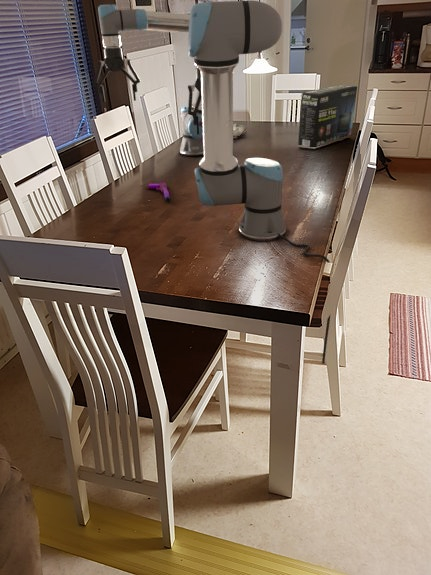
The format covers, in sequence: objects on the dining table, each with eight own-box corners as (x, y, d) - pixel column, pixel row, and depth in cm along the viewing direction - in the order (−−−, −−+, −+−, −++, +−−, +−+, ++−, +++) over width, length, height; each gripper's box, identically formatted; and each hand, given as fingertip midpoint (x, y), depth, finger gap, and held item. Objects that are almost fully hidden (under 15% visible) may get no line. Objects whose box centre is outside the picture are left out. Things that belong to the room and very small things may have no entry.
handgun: (147, 187, 192) (147, 183, 191) (166, 185, 193) (165, 180, 192) (151, 204, 175) (150, 199, 174) (171, 201, 176) (170, 197, 175)
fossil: (237, 133, 254) (219, 116, 257) (227, 149, 260) (209, 132, 263) (253, 132, 267) (235, 116, 271) (243, 148, 274) (226, 131, 277)
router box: (314, 151, 231) (318, 94, 217) (296, 148, 237) (299, 92, 224) (352, 138, 251) (358, 85, 238) (335, 135, 258) (340, 83, 245)
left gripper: (142, 45, 197) (148, 98, 208) (84, 48, 196) (92, 101, 207) (141, 46, 191) (147, 100, 202) (81, 49, 190) (90, 103, 201)
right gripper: (232, 64, 166) (233, 129, 178) (177, 67, 165) (181, 132, 177) (235, 66, 160) (236, 133, 172) (177, 69, 159) (182, 136, 171)
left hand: (119, 101), depth 204 cm, fingers open, 13 cm apart
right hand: (208, 133), depth 174 cm, fingers closed on action figure, 7 cm apart
